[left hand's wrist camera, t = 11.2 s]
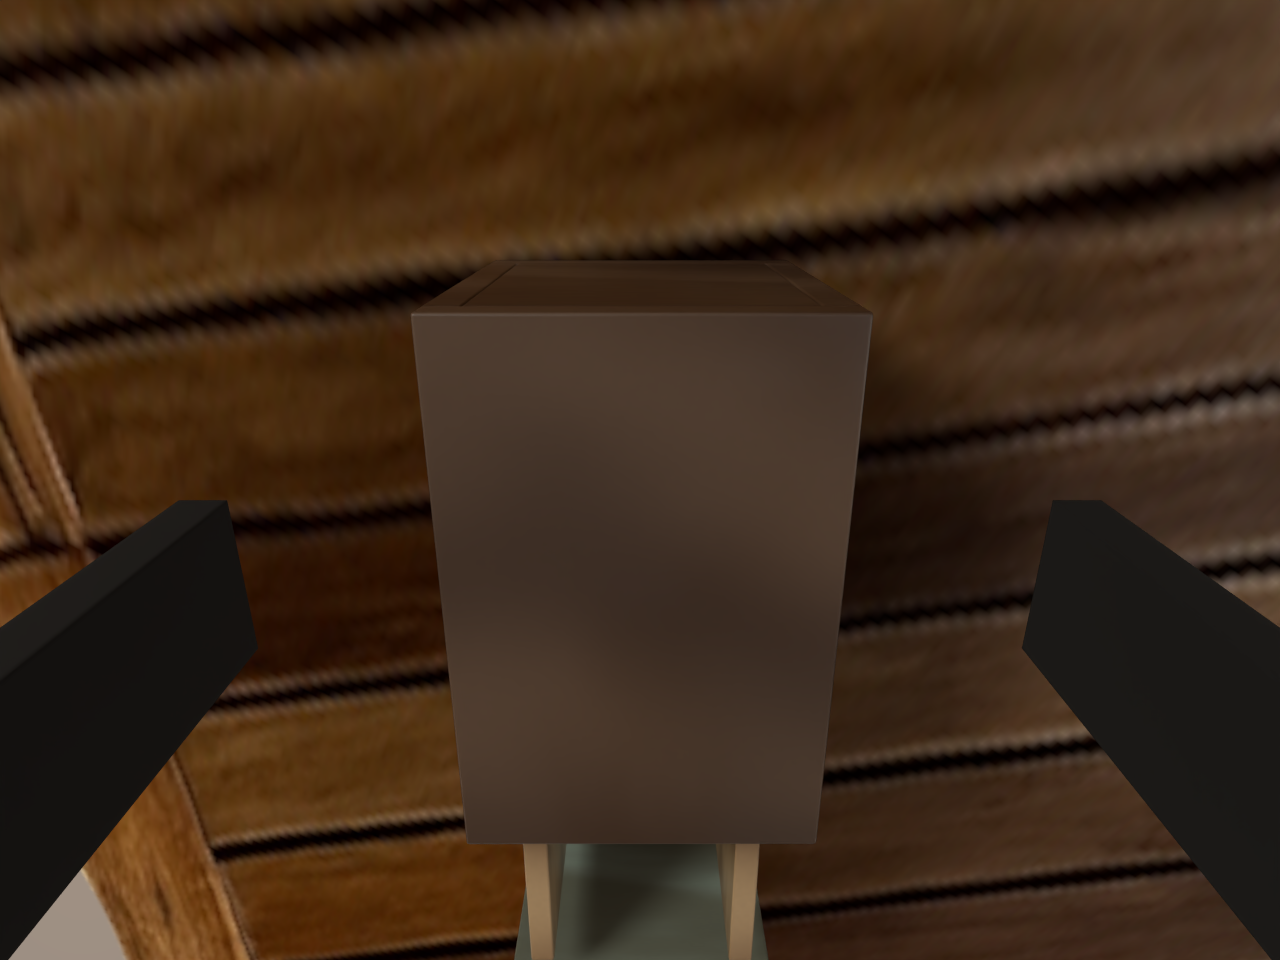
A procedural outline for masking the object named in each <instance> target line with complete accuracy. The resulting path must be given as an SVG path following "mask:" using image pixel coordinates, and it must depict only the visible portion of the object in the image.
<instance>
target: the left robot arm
mask: <svg viewBox="0 0 1280 960" xmlns="http://www.w3.org/2000/svg"><path fill="white" fill-rule="evenodd" d="M257 649H258V646H257V641H256V637H255V632H254V627H253V622H252V617H251V613H250V608H249V603H248V598H247V594H246V589H245V584H244V579H243V574H242V570H241V565H240V560H239V555H238V551H237V546H236V541H235V536H234V531H233V527H232V522H231V517H230V512H229V508H228V503H227V500H179V501H177V502H176V503H175V504H173V505H172V506H170V507H169V508H168V509H166V510H165V511H163V512H162V513H161V514H159V515H158V516H156V517H155V518H154V519H152V520H151V521H149V522H148V523H147V524H145V525H144V526H142V527H141V528H139V529H138V530H137V531H135V532H134V533H132V534H131V535H130V536H128V537H127V538H125V539H124V540H123V541H121V542H120V543H118V544H117V545H116V546H114V547H113V548H111V549H110V550H109V551H107V552H106V553H104V554H103V555H102V556H100V557H99V558H97V559H96V560H95V561H93V562H92V563H90V564H89V565H88V566H86V567H85V568H83V569H82V570H81V571H79V572H78V573H76V574H75V575H74V576H72V577H71V578H69V579H68V580H67V581H65V582H64V583H62V584H61V585H60V586H58V587H57V588H55V589H54V590H52V591H51V592H50V593H48V594H47V595H45V596H44V597H43V598H41V599H40V600H38V601H37V602H36V603H34V604H33V605H31V606H30V607H29V608H27V609H26V610H24V611H23V612H22V613H20V614H19V615H17V616H16V617H15V618H13V619H12V620H10V621H9V622H8V623H6V624H5V625H3V626H2V627H1V628H0V960H8V959H9V958H10V957H11V956H12V954H13V953H14V952H15V951H16V949H17V948H18V947H19V946H20V944H21V943H22V942H23V941H24V939H25V938H26V937H27V936H28V934H29V933H30V932H31V931H32V929H33V928H34V927H35V926H36V924H37V923H38V922H39V921H40V919H41V918H42V917H43V916H44V914H45V913H46V912H47V911H48V910H49V908H50V907H51V906H52V905H53V903H54V902H55V901H56V900H57V898H58V897H59V896H60V895H61V893H62V892H63V891H64V890H65V888H66V887H67V886H68V885H69V883H70V882H71V881H72V880H73V878H74V877H75V876H76V875H77V873H78V872H79V871H80V870H81V868H82V867H83V866H84V865H85V863H86V862H87V861H88V860H89V858H90V857H91V856H92V855H93V853H94V852H95V851H96V850H97V848H98V847H99V846H100V845H101V843H102V842H103V841H104V840H105V838H106V837H107V836H108V835H109V833H110V832H111V831H112V830H113V828H114V827H115V826H116V825H117V823H118V822H119V821H120V820H121V819H122V817H123V816H124V815H125V814H126V812H127V811H128V810H129V809H130V807H131V806H132V805H133V804H134V802H135V801H136V800H137V799H138V797H139V796H140V795H141V794H142V792H143V791H144V790H145V789H146V787H147V786H148V785H149V784H150V782H151V781H152V780H153V779H154V777H155V776H156V775H157V774H158V772H159V771H160V770H161V769H162V767H163V766H164V765H165V764H166V762H167V761H168V760H169V759H170V757H171V756H172V755H173V754H174V752H175V751H176V750H177V749H178V747H179V746H180V745H181V744H182V742H183V741H184V740H185V739H186V737H187V736H188V735H189V734H190V732H191V731H192V730H193V729H194V727H195V726H196V725H197V724H198V722H199V721H200V720H201V719H202V717H203V716H204V715H205V714H206V712H207V711H208V710H209V709H210V707H211V706H212V705H213V704H214V703H215V701H216V700H217V699H218V698H219V696H220V695H221V694H222V693H223V691H224V690H225V689H226V688H227V686H228V685H229V684H230V683H231V681H232V680H233V679H234V678H235V676H236V675H237V674H238V673H239V671H240V670H241V669H242V668H243V666H244V665H245V664H246V663H247V661H248V660H249V659H250V658H251V656H252V655H253V654H254V653H255V651H256V650H257ZM1022 649H1023V650H1024V651H1025V653H1026V654H1027V655H1028V656H1029V658H1030V659H1031V660H1032V661H1033V663H1034V664H1035V665H1036V666H1037V668H1038V669H1039V670H1040V671H1041V673H1042V674H1043V675H1044V676H1045V678H1046V679H1047V680H1048V681H1049V683H1050V684H1051V685H1052V686H1053V688H1054V689H1055V690H1056V691H1057V693H1058V694H1059V695H1060V696H1061V698H1062V699H1063V700H1064V701H1065V703H1066V704H1067V705H1068V706H1069V708H1070V709H1071V710H1072V711H1073V712H1074V714H1075V715H1076V716H1077V717H1078V719H1079V720H1080V721H1081V722H1082V724H1083V725H1084V726H1085V727H1086V729H1087V730H1088V731H1089V732H1090V734H1091V735H1092V736H1093V737H1094V739H1095V740H1096V741H1097V742H1098V744H1099V745H1100V746H1101V747H1102V749H1103V750H1104V751H1105V752H1106V754H1107V755H1108V756H1109V757H1110V759H1111V760H1112V761H1113V762H1114V764H1115V765H1116V766H1117V767H1118V769H1119V770H1120V771H1121V772H1122V774H1123V775H1124V776H1125V777H1126V779H1127V780H1128V781H1129V782H1130V784H1131V785H1132V786H1133V787H1134V789H1135V790H1136V791H1137V792H1138V794H1139V795H1140V796H1141V797H1142V799H1143V800H1144V801H1145V802H1146V804H1147V805H1148V806H1149V807H1150V809H1151V810H1152V811H1153V812H1154V814H1155V815H1156V816H1157V817H1158V819H1159V820H1160V821H1161V822H1162V823H1163V825H1164V826H1165V827H1166V828H1167V830H1168V831H1169V832H1170V833H1171V835H1172V836H1173V837H1174V838H1175V840H1176V841H1177V842H1178V843H1179V845H1180V846H1181V847H1182V848H1183V850H1184V851H1185V852H1186V853H1187V855H1188V856H1189V857H1190V858H1191V860H1192V861H1193V862H1194V863H1195V865H1196V866H1197V867H1198V868H1199V870H1200V871H1201V872H1202V873H1203V875H1204V876H1205V877H1206V878H1207V880H1208V881H1209V882H1210V883H1211V885H1212V886H1213V887H1214V888H1215V890H1216V891H1217V892H1218V893H1219V895H1220V896H1221V897H1222V898H1223V900H1224V901H1225V902H1226V903H1227V905H1228V906H1229V907H1230V908H1231V910H1232V911H1233V912H1234V913H1235V915H1236V916H1237V917H1238V918H1239V920H1240V921H1241V922H1242V923H1243V925H1244V926H1245V927H1246V928H1247V930H1248V931H1249V932H1250V933H1251V935H1252V936H1253V937H1254V938H1255V939H1256V941H1257V942H1258V943H1259V944H1260V946H1261V947H1262V948H1263V949H1264V951H1265V952H1266V953H1267V954H1268V956H1269V957H1270V958H1271V959H1272V960H1280V628H1279V627H1278V626H1277V625H1275V624H1274V623H1272V622H1271V621H1270V620H1268V619H1267V618H1265V617H1264V616H1263V615H1261V614H1260V613H1258V612H1257V611H1256V610H1254V609H1253V608H1251V607H1250V606H1249V605H1247V604H1246V603H1244V602H1243V601H1242V600H1240V599H1239V598H1237V597H1236V596H1235V595H1233V594H1232V593H1230V592H1229V591H1228V590H1226V589H1225V588H1223V587H1222V586H1220V585H1219V584H1218V583H1216V582H1215V581H1213V580H1212V579H1211V578H1209V577H1208V576H1206V575H1205V574H1204V573H1202V572H1201V571H1199V570H1198V569H1197V568H1195V567H1194V566H1192V565H1191V564H1190V563H1188V562H1187V561H1185V560H1184V559H1183V558H1181V557H1180V556H1178V555H1177V554H1176V553H1174V552H1173V551H1171V550H1170V549H1169V548H1167V547H1166V546H1164V545H1163V544H1162V543H1160V542H1159V541H1157V540H1156V539H1155V538H1153V537H1152V536H1150V535H1149V534H1148V533H1146V532H1145V531H1143V530H1142V529H1141V528H1139V527H1138V526H1136V525H1135V524H1133V523H1132V522H1131V521H1129V520H1128V519H1126V518H1125V517H1124V516H1122V515H1121V514H1119V513H1118V512H1117V511H1115V510H1114V509H1112V508H1111V507H1110V506H1108V505H1107V504H1105V503H1104V502H1103V501H1101V500H1053V503H1052V508H1051V512H1050V517H1049V522H1048V527H1047V531H1046V536H1045V541H1044V546H1043V551H1042V555H1041V560H1040V565H1039V570H1038V574H1037V579H1036V584H1035V589H1034V594H1033V598H1032V603H1031V608H1030V613H1029V617H1028V622H1027V627H1026V632H1025V637H1024V641H1023V646H1022Z"/></svg>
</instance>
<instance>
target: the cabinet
mask: <svg viewBox="0 0 1280 960" xmlns="http://www.w3.org/2000/svg"><path fill="white" fill-rule="evenodd" d="M872 320H873V314H872V312H870V311H868V310H867V309H865V308H863V307H861V306H860V305H859V304H857V303H855V302H854V301H852V300H851V299H849V298H847V297H846V296H844V295H842V294H841V293H839V292H837V291H836V290H834V289H833V288H831V287H829V286H828V285H826V284H824V283H823V282H821V281H820V280H818V279H816V278H815V277H813V276H811V275H810V274H808V273H806V272H805V271H803V270H802V269H800V268H798V267H797V266H795V265H793V264H792V263H790V262H789V261H787V260H496V261H494V262H492V263H491V264H489V265H487V266H486V267H484V268H482V269H481V270H479V271H478V272H476V273H474V274H473V275H471V276H470V277H468V278H466V279H465V280H463V281H462V282H460V283H458V284H457V285H455V286H454V287H452V288H450V289H449V290H447V291H445V292H444V293H442V294H441V295H439V296H437V297H436V298H434V299H433V300H431V301H429V302H428V303H426V304H425V305H423V306H422V307H420V308H419V309H417V310H415V311H414V312H412V313H411V324H412V333H413V343H414V352H415V361H416V371H417V380H418V389H419V399H420V408H421V417H422V427H423V436H424V445H425V455H426V464H427V473H428V483H429V492H430V501H431V511H432V520H433V530H434V539H435V548H436V558H437V567H438V576H439V586H440V595H441V604H442V614H443V623H444V632H445V642H446V651H447V660H448V670H449V679H450V688H451V698H452V707H453V716H454V726H455V735H456V745H457V754H458V763H459V773H460V782H461V791H462V801H463V810H464V819H465V829H466V838H467V843H468V844H815V843H816V839H817V829H818V820H819V811H820V802H821V792H822V783H823V774H824V765H825V755H826V746H827V737H828V728H829V718H830V709H831V700H832V691H833V681H834V672H835V663H836V653H837V644H838V635H839V626H840V616H841V607H842V598H843V589H844V579H845V570H846V561H847V552H848V542H849V533H850V524H851V515H852V505H853V496H854V487H855V478H856V468H857V459H858V450H859V441H860V431H861V422H862V413H863V404H864V394H865V385H866V376H867V367H868V357H869V348H870V339H871V330H872Z"/></svg>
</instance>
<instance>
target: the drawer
mask: <svg viewBox="0 0 1280 960" xmlns="http://www.w3.org/2000/svg"><path fill="white" fill-rule="evenodd" d="M523 849H524V863H525V877H526V889H525V896H524V902H523V908H522V914H521V921H520V927H519V933H518V939H517V946H516V952H515V958H514V960H768V954H767V948H766V942H765V936H764V930H763V924H762V917H761V911H760V905H759V899H758V893H757V876H758V862H759V849H760V844H523Z"/></svg>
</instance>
